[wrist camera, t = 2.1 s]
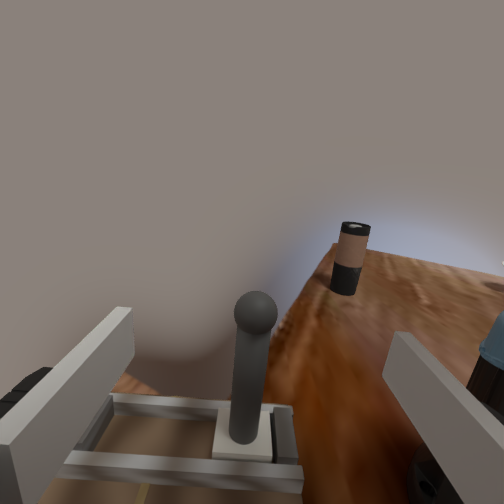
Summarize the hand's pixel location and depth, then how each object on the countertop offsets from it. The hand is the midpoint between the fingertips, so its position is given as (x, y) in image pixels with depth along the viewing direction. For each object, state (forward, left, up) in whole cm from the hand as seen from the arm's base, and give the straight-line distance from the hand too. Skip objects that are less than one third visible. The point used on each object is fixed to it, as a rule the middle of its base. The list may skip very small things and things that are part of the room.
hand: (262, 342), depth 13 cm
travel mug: (+36, -54, -23) cm, 69 cm away
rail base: (+11, 0, -23) cm, 25 cm away
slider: (+8, -5, -21) cm, 23 cm away
